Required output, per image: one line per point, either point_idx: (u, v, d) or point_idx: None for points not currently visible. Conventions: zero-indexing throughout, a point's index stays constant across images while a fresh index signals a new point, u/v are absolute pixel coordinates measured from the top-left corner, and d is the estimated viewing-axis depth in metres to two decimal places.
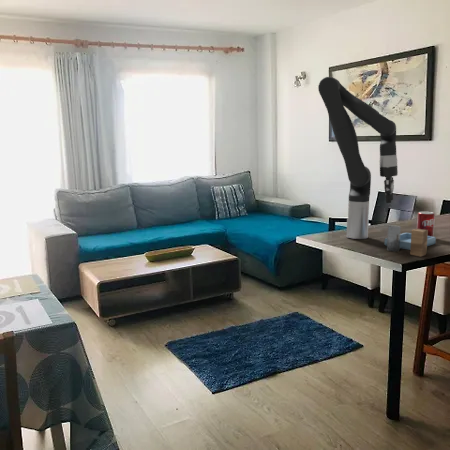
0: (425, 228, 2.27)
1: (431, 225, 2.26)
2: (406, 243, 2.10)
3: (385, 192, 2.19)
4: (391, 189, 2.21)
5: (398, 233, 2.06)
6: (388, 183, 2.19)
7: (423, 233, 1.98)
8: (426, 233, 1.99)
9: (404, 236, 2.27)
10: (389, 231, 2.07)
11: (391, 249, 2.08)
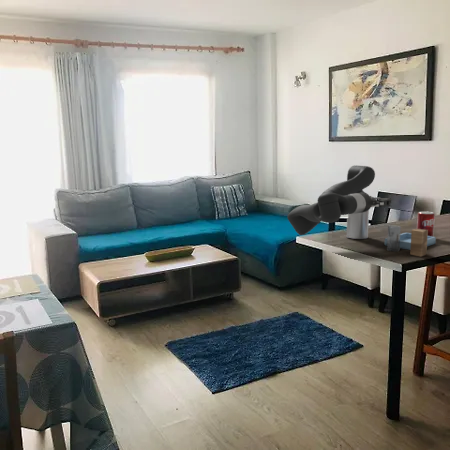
0: (425, 228, 2.27)
1: (431, 225, 2.26)
2: (406, 243, 2.10)
3: (389, 205, 1.90)
4: (380, 198, 1.91)
5: (398, 233, 2.06)
6: (383, 202, 1.87)
7: (423, 233, 1.98)
8: (426, 233, 1.99)
9: (404, 236, 2.27)
10: (389, 231, 2.07)
11: (391, 249, 2.08)
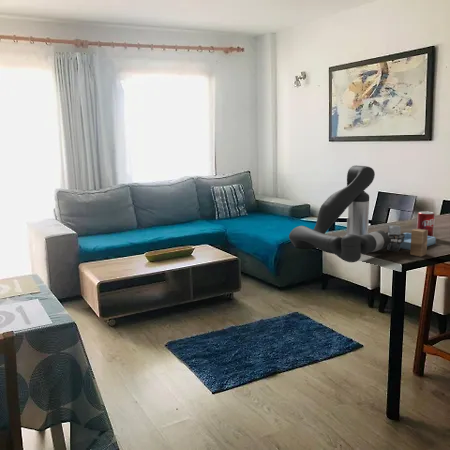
0: (425, 228, 2.27)
1: (431, 225, 2.26)
2: (406, 243, 2.10)
3: (403, 240, 2.03)
4: None
5: (398, 233, 2.06)
6: (401, 239, 2.00)
7: (423, 233, 1.98)
8: (426, 233, 1.99)
9: None
10: (389, 231, 2.07)
11: (391, 249, 2.08)
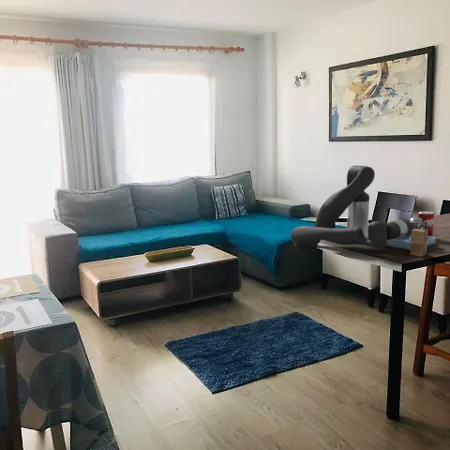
0: None
1: (431, 225, 2.26)
2: (406, 243, 2.10)
3: None
4: (419, 223, 2.15)
5: None
6: (423, 227, 2.11)
7: (423, 233, 1.98)
8: (426, 233, 1.99)
9: (404, 236, 2.27)
10: None
11: None
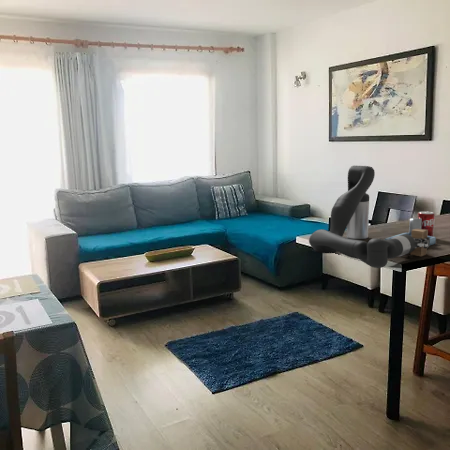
0: (425, 228, 2.27)
1: (431, 225, 2.26)
2: None
3: (429, 245, 1.95)
4: (421, 238, 1.96)
5: (420, 225, 2.18)
6: (427, 243, 1.92)
7: (423, 233, 1.98)
8: (426, 233, 1.99)
9: None
10: (411, 223, 2.19)
11: None
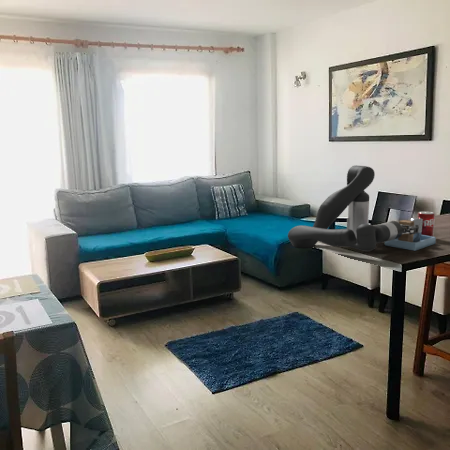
0: (425, 228, 2.27)
1: (431, 225, 2.26)
2: (406, 243, 2.10)
3: None
4: None
5: (421, 225, 2.18)
6: (413, 230, 2.05)
7: (410, 224, 2.12)
8: (412, 224, 2.14)
9: None
10: None
11: (414, 240, 2.19)
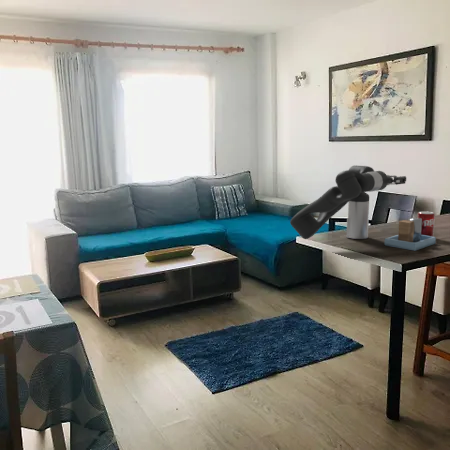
0: (425, 228, 2.27)
1: (431, 225, 2.26)
2: (406, 243, 2.10)
3: None
4: (396, 176, 1.97)
5: (420, 225, 2.18)
6: (399, 180, 1.93)
7: (409, 224, 2.12)
8: (412, 224, 2.14)
9: None
10: None
11: (415, 240, 2.19)
